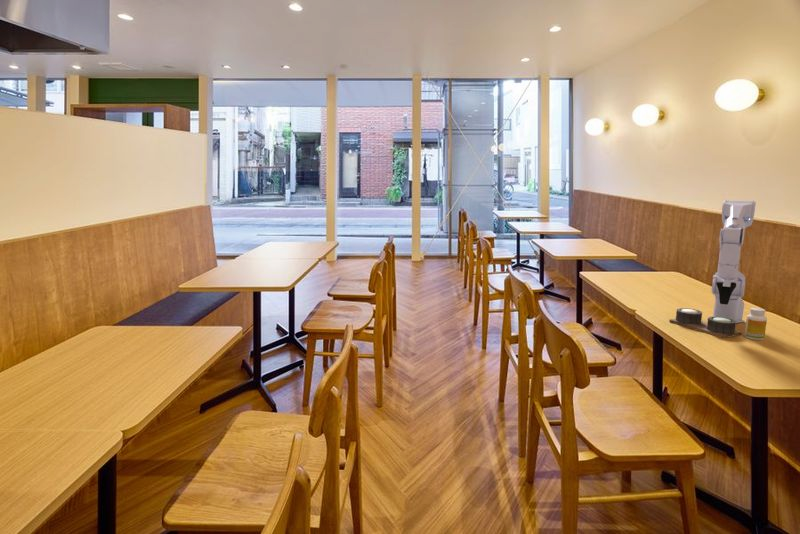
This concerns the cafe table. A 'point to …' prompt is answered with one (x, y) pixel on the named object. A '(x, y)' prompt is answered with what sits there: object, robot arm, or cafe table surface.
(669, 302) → the cafe table surface
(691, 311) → the peg cream
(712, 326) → the collar board
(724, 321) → the peg sage
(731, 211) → the robot arm
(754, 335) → the supplement bottle
